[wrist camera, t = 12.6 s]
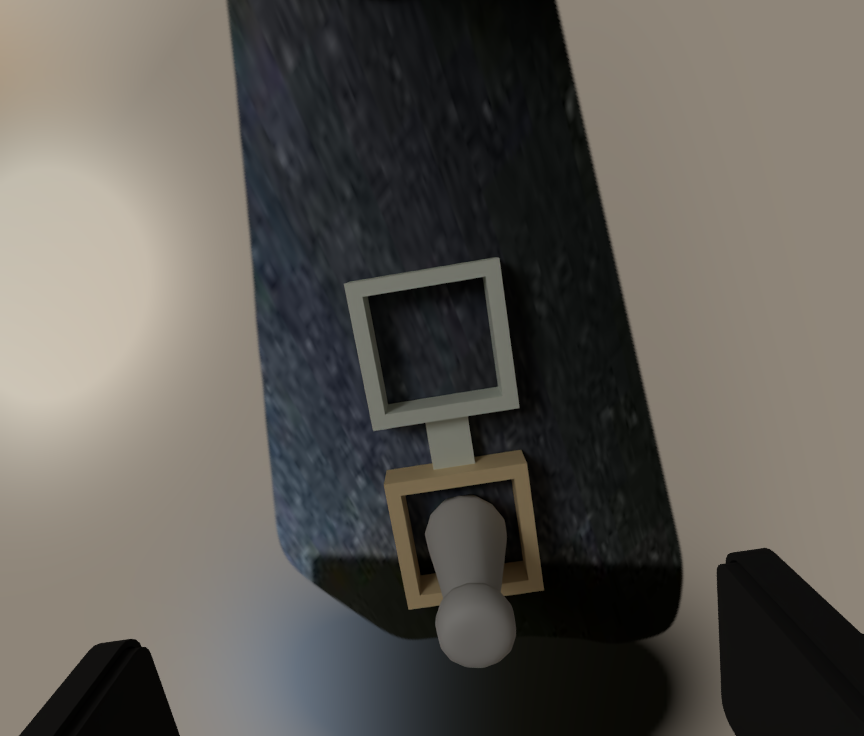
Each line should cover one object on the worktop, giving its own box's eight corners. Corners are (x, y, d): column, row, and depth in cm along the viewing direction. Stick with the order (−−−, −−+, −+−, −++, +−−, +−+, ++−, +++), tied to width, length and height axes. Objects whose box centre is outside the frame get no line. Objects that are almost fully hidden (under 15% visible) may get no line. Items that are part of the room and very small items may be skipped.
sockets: (350, 281, 36) (344, 283, 34) (494, 257, 36) (499, 257, 34) (410, 588, 41) (408, 609, 39) (537, 570, 41) (544, 590, 39)
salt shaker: (461, 467, 39) (474, 571, 27) (518, 514, 40) (557, 636, 27) (410, 522, 40) (399, 647, 28) (466, 566, 41) (481, 708, 28)
